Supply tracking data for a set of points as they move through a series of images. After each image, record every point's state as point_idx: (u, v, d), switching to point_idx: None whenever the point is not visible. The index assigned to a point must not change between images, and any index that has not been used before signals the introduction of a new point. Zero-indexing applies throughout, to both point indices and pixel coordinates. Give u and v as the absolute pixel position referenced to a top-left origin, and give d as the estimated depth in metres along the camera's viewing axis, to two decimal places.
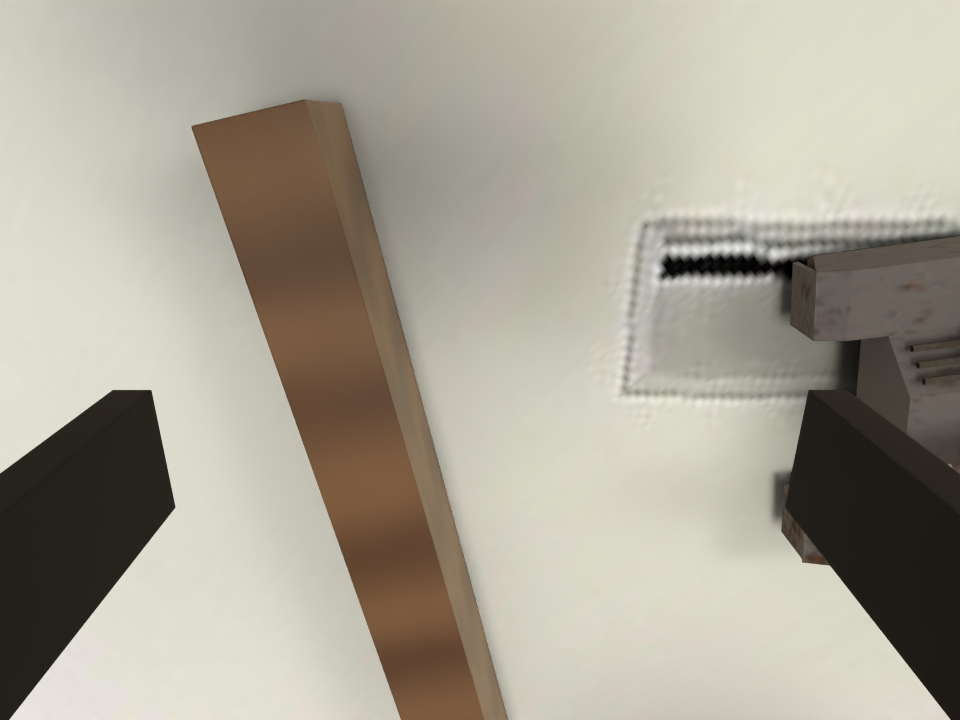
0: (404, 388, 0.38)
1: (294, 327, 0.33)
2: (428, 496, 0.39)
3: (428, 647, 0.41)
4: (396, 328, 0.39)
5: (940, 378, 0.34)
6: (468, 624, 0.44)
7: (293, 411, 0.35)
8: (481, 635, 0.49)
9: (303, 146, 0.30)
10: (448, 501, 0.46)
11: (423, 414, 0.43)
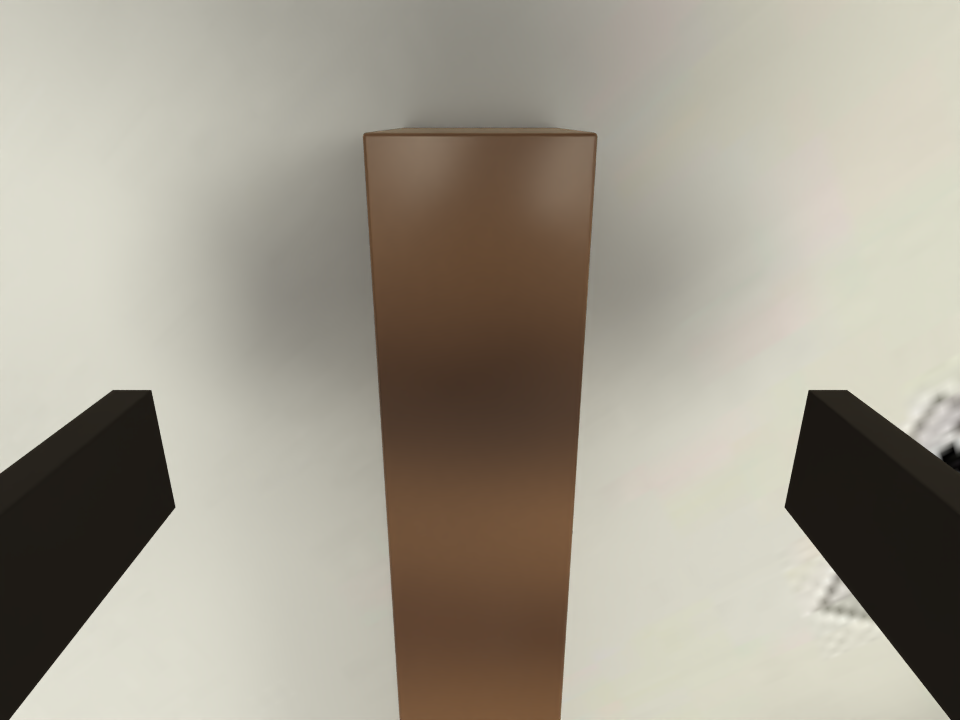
0: None
1: (441, 506, 0.19)
2: None
3: None
4: None
5: None
6: None
7: (397, 628, 0.20)
8: None
9: (564, 216, 0.16)
10: None
11: None
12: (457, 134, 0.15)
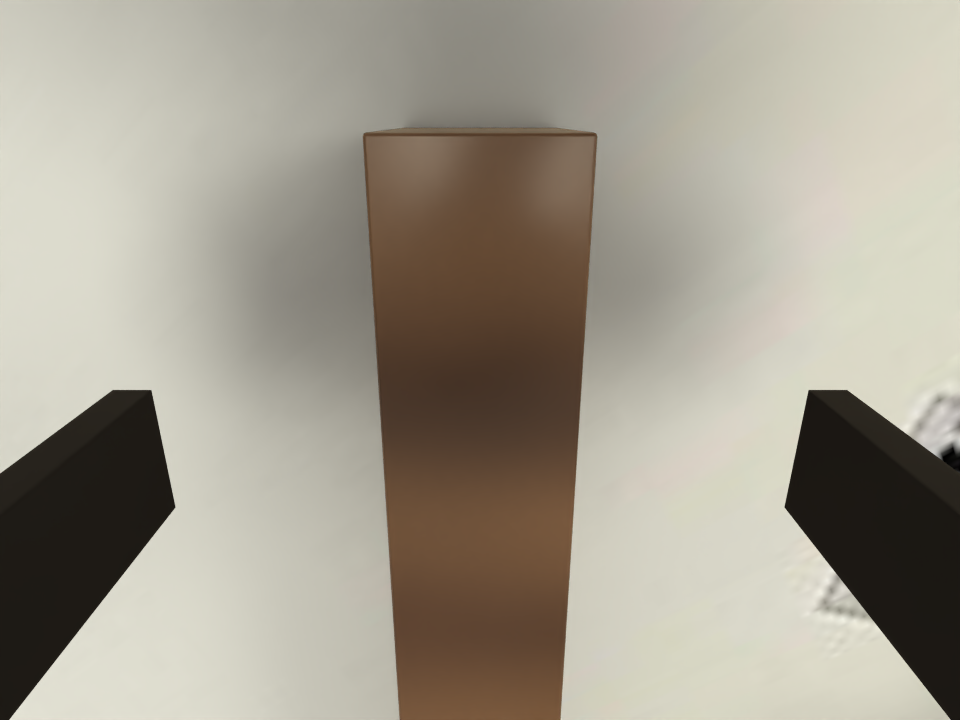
0: None
1: (441, 506, 0.19)
2: None
3: None
4: None
5: None
6: None
7: (396, 628, 0.20)
8: None
9: (563, 215, 0.16)
10: None
11: None
12: (457, 134, 0.15)
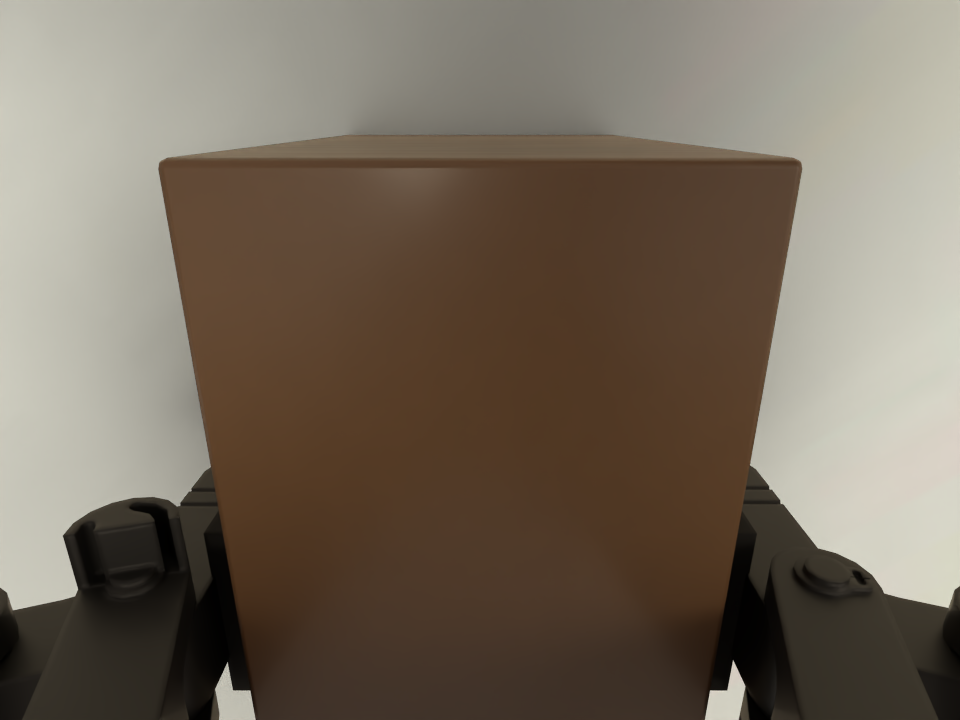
0: None
1: None
2: None
3: None
4: None
5: None
6: None
7: None
8: None
9: (696, 369, 0.06)
10: None
11: None
12: (417, 163, 0.05)
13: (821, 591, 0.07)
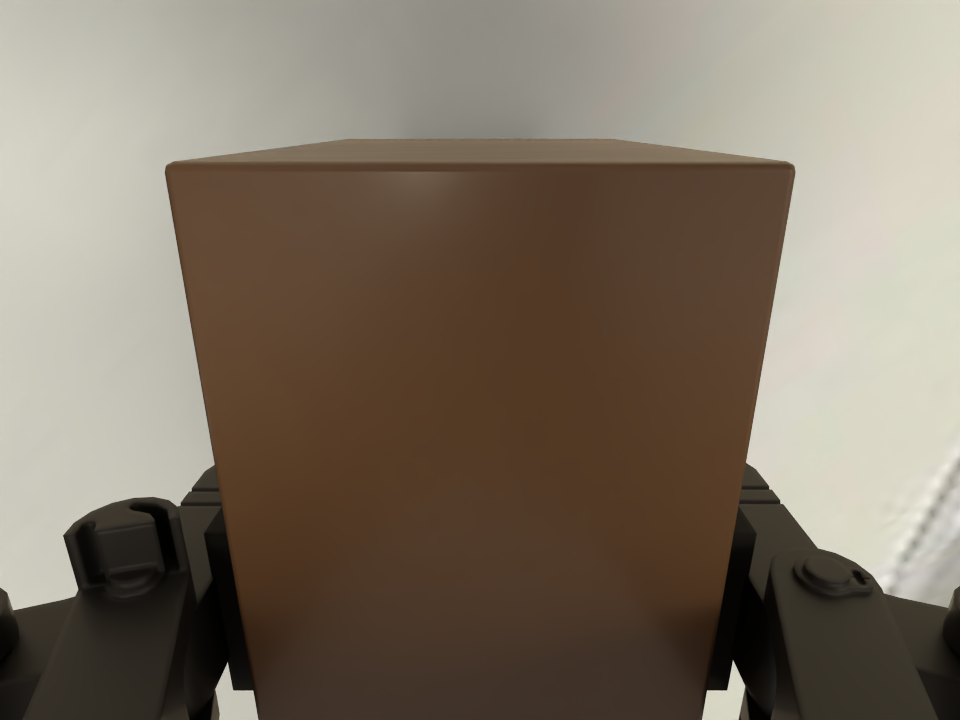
0: None
1: None
2: None
3: None
4: None
5: None
6: None
7: None
8: None
9: (692, 369, 0.06)
10: None
11: None
12: (418, 166, 0.06)
13: (821, 591, 0.07)
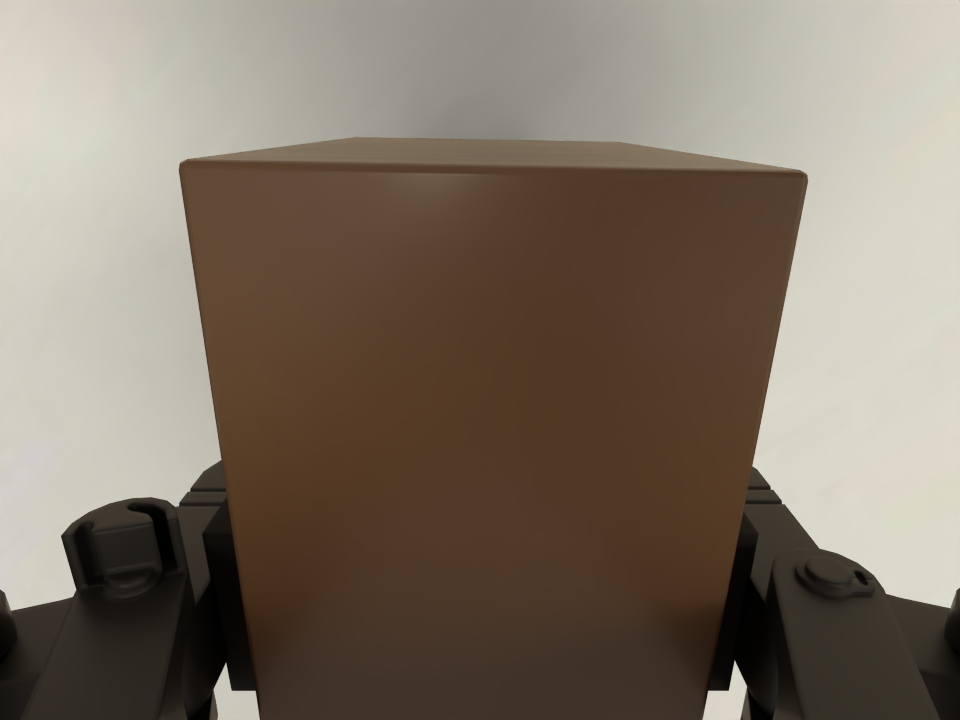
0: None
1: None
2: None
3: None
4: None
5: None
6: None
7: None
8: None
9: (701, 374, 0.06)
10: None
11: None
12: (432, 168, 0.06)
13: (823, 591, 0.07)
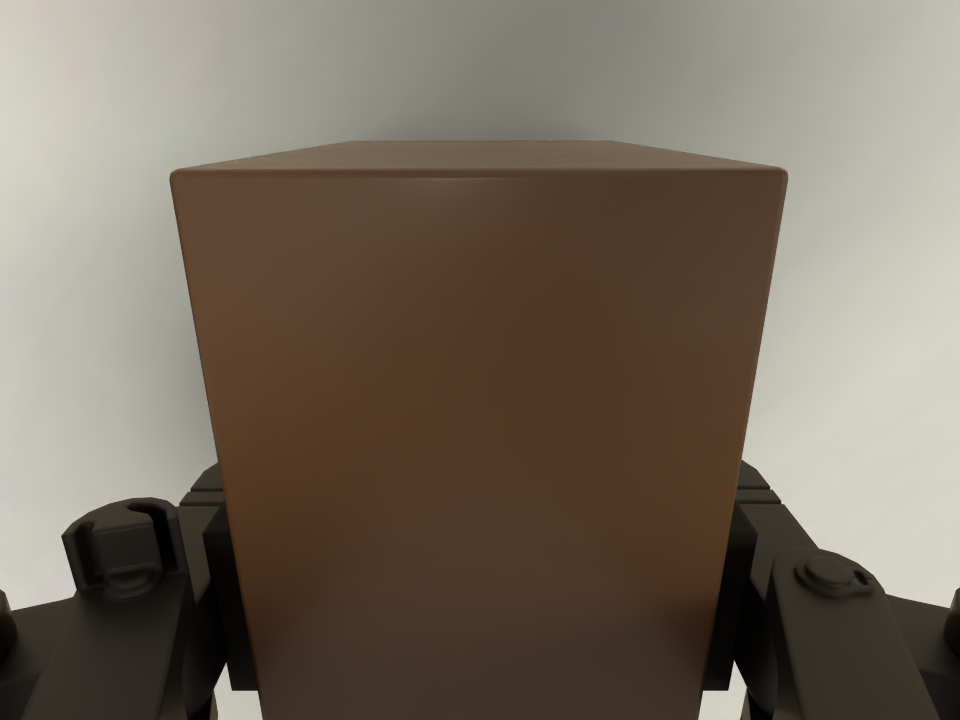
0: None
1: None
2: None
3: None
4: None
5: None
6: None
7: None
8: None
9: (688, 371, 0.06)
10: None
11: None
12: (417, 173, 0.06)
13: (821, 591, 0.07)
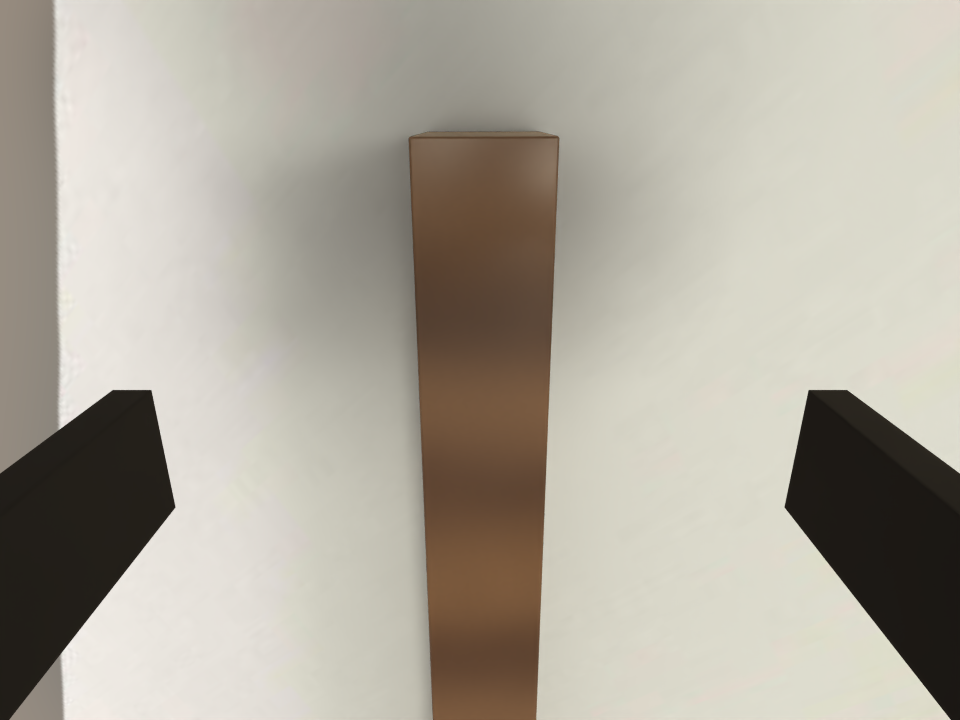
0: None
1: (457, 393, 0.27)
2: None
3: None
4: None
5: None
6: None
7: (425, 486, 0.29)
8: None
9: (538, 189, 0.24)
10: None
11: None
12: (469, 137, 0.23)
13: None
